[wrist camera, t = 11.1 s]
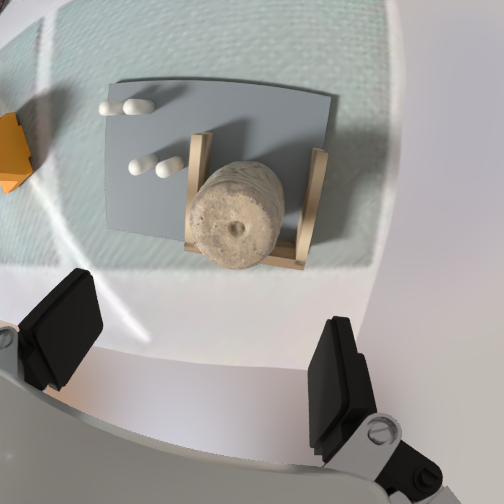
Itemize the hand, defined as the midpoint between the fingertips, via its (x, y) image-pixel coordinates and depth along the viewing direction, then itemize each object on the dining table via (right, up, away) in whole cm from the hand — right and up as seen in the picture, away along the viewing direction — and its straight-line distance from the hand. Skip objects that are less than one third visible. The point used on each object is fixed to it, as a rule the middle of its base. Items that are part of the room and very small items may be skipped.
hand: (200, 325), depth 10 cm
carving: (+2, +9, +19) cm, 21 cm away
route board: (-3, +12, +19) cm, 23 cm away
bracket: (-35, +18, +20) cm, 44 cm away
